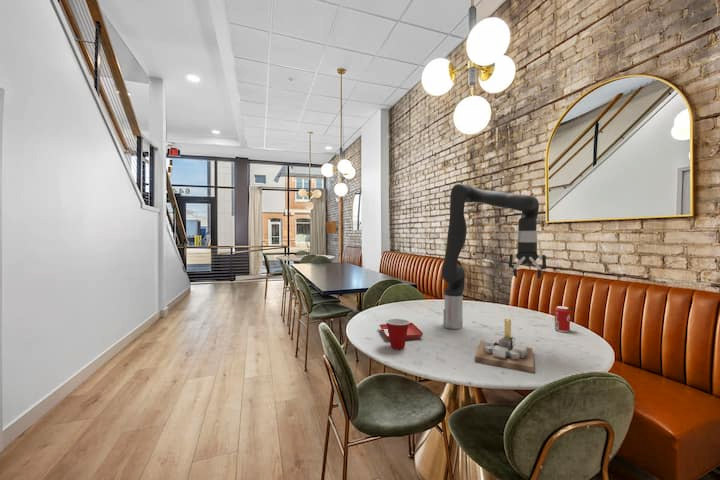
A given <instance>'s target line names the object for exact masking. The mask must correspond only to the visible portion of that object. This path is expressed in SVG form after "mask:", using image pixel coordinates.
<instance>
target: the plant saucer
mask: <svg viewBox="0 0 720 480" xmlns="http://www.w3.org/2000/svg"><path fill="white" fill-rule="evenodd" d="M378 326H379V328H380V330H381V331H382V332H383V334H384V336H385V337H386V338H387V341H390V339H389V336H387V335H386V334H385V332H384V331H383V329H388V328H387V323H382V324H378ZM423 335H424V332H423V331H422V330H421V329H420V328H419V327H418V326H417V325H416V324H414V323H413V322H410V324H409V326H408V329H407V336H406V339H408V340H419V339H420V338H421V337H422V336H423Z"/></svg>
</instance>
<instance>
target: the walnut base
mask: <svg viewBox="0 0 720 480" xmlns="http://www.w3.org/2000/svg"><path fill="white" fill-rule="evenodd" d="M498 340H499V346H501V347H505V348H508V350H511V342H510V341H509V340H505V339H501V338H500V339H498ZM484 341H485V340H483V339H480V343H479V345H478V347H477V349H476V352H475V354H474V362H475V363H480V364H484V365H490V366H494V367H495V366H496V367H500V368H506V369H512V370H517V371H523V372H528V373H531V374H533V373H535V365H534V354H533V349H534V348H532V347H528V346H526V347H527V355H526V356H525V357H524V358H520V357H519V359H510V358H509V357H507V358H506V359H503V358H499V357H495V356H493V354H488V353H487V352H486V351H485V349H483V343H484Z"/></svg>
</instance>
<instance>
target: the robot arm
mask: <svg viewBox="0 0 720 480" xmlns="http://www.w3.org/2000/svg"><path fill="white" fill-rule="evenodd" d="M465 203H480V204H486V205H489V206H493V207H498V208H503V209H511V210H514V211H515V210H516V211H520V212H521V216H520V218H519V219H518V225H517V226H518V227H517V228H518V231H517V253H516V254H513V253H510V254H509V260H508V261H509V262H508V267H509V268H511V269H512V271H513V273H512V274H513V277H515V278H517V277H518V267H519V266H520V265H534V266H535V268H536V275H537V277H536V278H537V279H538V280H539V279H540V278H542V270H546V269H547V260H546V259H547V258H546V255H545V254H538V234H537V230H538V229H537V224H538V223H537V219H538V216H539V208H540V207H539V206H540V205H539V204H540V203H539V199H537V198H536V197H535V196H531V195H528V194H515V193H511V192H505V191H497V190H496V191H495V190H484V189H480V188H476V187H473V186H470V185H469V184H465V183H457V184H454V186H453V187H452V188H451V191H450V206H449V207H450V209H449V211H450V213H449V219H448V220H449V221H448V229H447V237H446V238H447V239H446V247H445V255H444V259H443V264H442V267H441V277H442V279H443V281H444V282H445V283H448V284H447V286H446V287H445V288H444V308H443V327H444V328H447V329H450V330H461V329H463V324H464V323H463V322H464V321H463V316H464V315H463V307H464V306H463V304H464V302H463V299H464V297H463V292H464V290H465V281H466V280H465V278H466V277H465V276H466V275H465V269H464V268H463V267H462V265H460V264H458V260H459V255H460V254H461V252H462V250H463V248H464V245H465V244H466V239H467V231H468V229H467V228H468V227H467V222H466V217H465V205H466V204H465ZM515 258H517V260H518V261H517V262H516V263H515V264H514V265H513V260H514V259H515ZM538 259H540V261H542V263H541V264H542V265H541V266H540V265H539V264H538V262H537V260H538Z"/></svg>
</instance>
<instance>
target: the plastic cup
mask: <svg viewBox="0 0 720 480" xmlns="http://www.w3.org/2000/svg"><path fill="white" fill-rule="evenodd" d="M410 323H411V321H410V320H408V319H403V318H389V319H388V318H387V319H386V320H385V324H387V328H388V333H389V339H390V340H389V342H390V343H389V344H390V347H392V348H393V349H392V348H391V349H392V350H395V349H402V350H404V349H405V346H406V336H407V329H408V326H409V324H410ZM403 348H404V349H403Z"/></svg>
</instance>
